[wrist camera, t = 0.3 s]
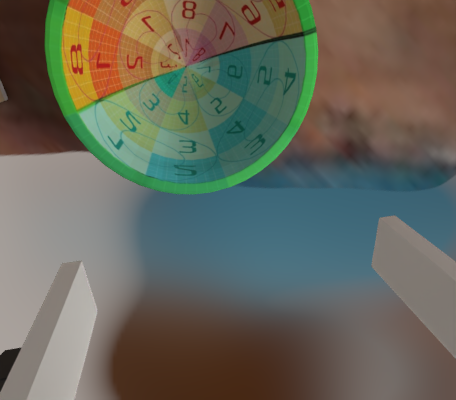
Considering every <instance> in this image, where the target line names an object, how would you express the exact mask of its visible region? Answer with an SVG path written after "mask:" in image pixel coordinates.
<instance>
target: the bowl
mask: <svg viewBox="0 0 456 400" xmlns="http://www.w3.org/2000/svg"><path fill="white" fill-rule="evenodd" d="M45 55H46V63H47V70H48V75H49V78H50V82H51V85H52V89H53V92H54V96H55V98H56V100H57V102H58V104H59V107H60V109H61V111H62V113H63V116H64V117H65V119H66V121H67V122H68V124H69V125H70V127H71V128H72V130H73V132H74V133H75V135H76V136H77V137H78V138H79V140H80V141H81V142H82V143H83V144H84V145H85V147H86V148H87V149H88V150H89V151H90V152H91V153H92V154H93V155H94V156H95V157H96V158H98V159H99V160H100V161H101V162H102V163H103V164H104V165H106V166H107V167H108V168H110V169H112V170H113V171H114V172H116V173H118V174H119V175H121V176H122V177H124V178H126V179H128V180H130V181H132V182H134V183H136V184H139V185H141V186H144V187H147V188H150V189H154V190H157V191H162V192H168V193H174V194H200V193H209V192H214V191H217V190H221V189H225V188H228V187H231V186H234V185H236V184H238V183H241V182H243V181H245V180H247V179H248V178H250V177H252V176H253V175H255V174H257V173H258V172H260V171H261V170H262V169H264V168H265V167H266V166H267V165H269V164H270V163H271V162H272V161H273V160H275V158H276V157H277V156H278V155H279V154H280V153H281V152H282V151H283V150H284V149H285V148H286V146H287V145H288V144H289V142H290V141H291V139H292V138H293V136H294V135H295V133H296V132H297V131H298V129H299V127H300V125H301V123H302V121H303V119H304V117H305V115H306V113H307V110H308V107H309V104H310V101H311V98H312V95H313V91H314V86H315V81H316V75H317V63H318V44H317V32H316V26H315V22H314V17H313V13H312V8H311V5H310V3H309V0H50V1H49V6H48V11H47V16H46V21H45Z"/></svg>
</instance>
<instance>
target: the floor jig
mask: <svg viewBox="0 0 456 400" xmlns="http://www.w3.org/2000/svg"><path fill="white" fill-rule="evenodd" d="M6 100H8V97H7V95H6V92H5V90H4V87H3V85H2V82H1V80H0V102H3V101H6Z"/></svg>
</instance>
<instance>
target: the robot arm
mask: <svg viewBox="0 0 456 400" xmlns="http://www.w3.org/2000/svg"><path fill="white" fill-rule="evenodd" d="M372 267H373V269H375V271H376V272H377V273H378V274H379V275H380V276H381V277H382V278H383V279H384V281H385V282H386V283H387V284H388V285H389V286H390V287H391V288H392V289H393V291H394V292H395V293H396V294H397V295H398V296H399V297H400V298H401V299H402V300H403V301H404V303H405V304H406V305H407V306H408V307H409V308H410V309H411V310H412V311H413V312H414V313H415V315H416V316H417V317H418V318H419V319H420V320H421V321H422V322H423V323H424V324H425V326H426V327H427V328H428V329H429V330H430V331H431V332H432V333H433V334H434V335H435V336H436V337H437V339H438V340H439V341H440V342H441V343H442V344H443V345H444V346H445V348H446V349H447V350H448V351H449V352H450V353H451V354H452V355H453V356H454V357H455V358H456V262H455V261H454V260H453V259H451V258H450V257H449V256H447V255H446V254H445V253H443V252H442V251H441V250H439V249H438V248H437V247H436V246H434V245H433V244H432V243H430V242H429V241H428V240H426V239H425V238H424V237H422V236H421V235H420V234H418V233H417V232H416V231H414V230H413V229H412V228H411V227H409V226H408V225H407V224H405V223H404V222H403V221H401V220H400V219H399V218H397V217H396V216H388V217H382V218H379V223H378V229H377V235H376V242H375V248H374V254H373V260H372ZM97 312H98V310H97V307H96V304H95V301H94V298H93V294H92V291H91V288H90V285H89V282H88V279H87V276H86V273H85V270H84V267H83V263H82V261H76V262H69V263H63V264H62V265H61V267H60V269H59V271H58V273H57V275H56V277H55V279H54V282H53V284H52V286H51V288H50V290H49V292H48V294H47V296H46V298H45V300H44V302H43V304H42V306H41V309H40V311H39V313H38V315H37V317H36V319H35V321H34V323H33V325H32V327H31V330H30V331H29V333H28V336H27V338H26V340H25V342H24V344H23V346H22V348H17V349H11V350H5V351H4V352H3V353H2V354H1V355H0V400H74V399H75V396H76V392H77V388H78V384H79V380H80V376H81V373H82V369H83V365H84V361H85V357H86V354H87V350H88V346H89V342H90V338H91V335H92V331H93V327H94V323H95V319H96V315H97Z"/></svg>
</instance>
